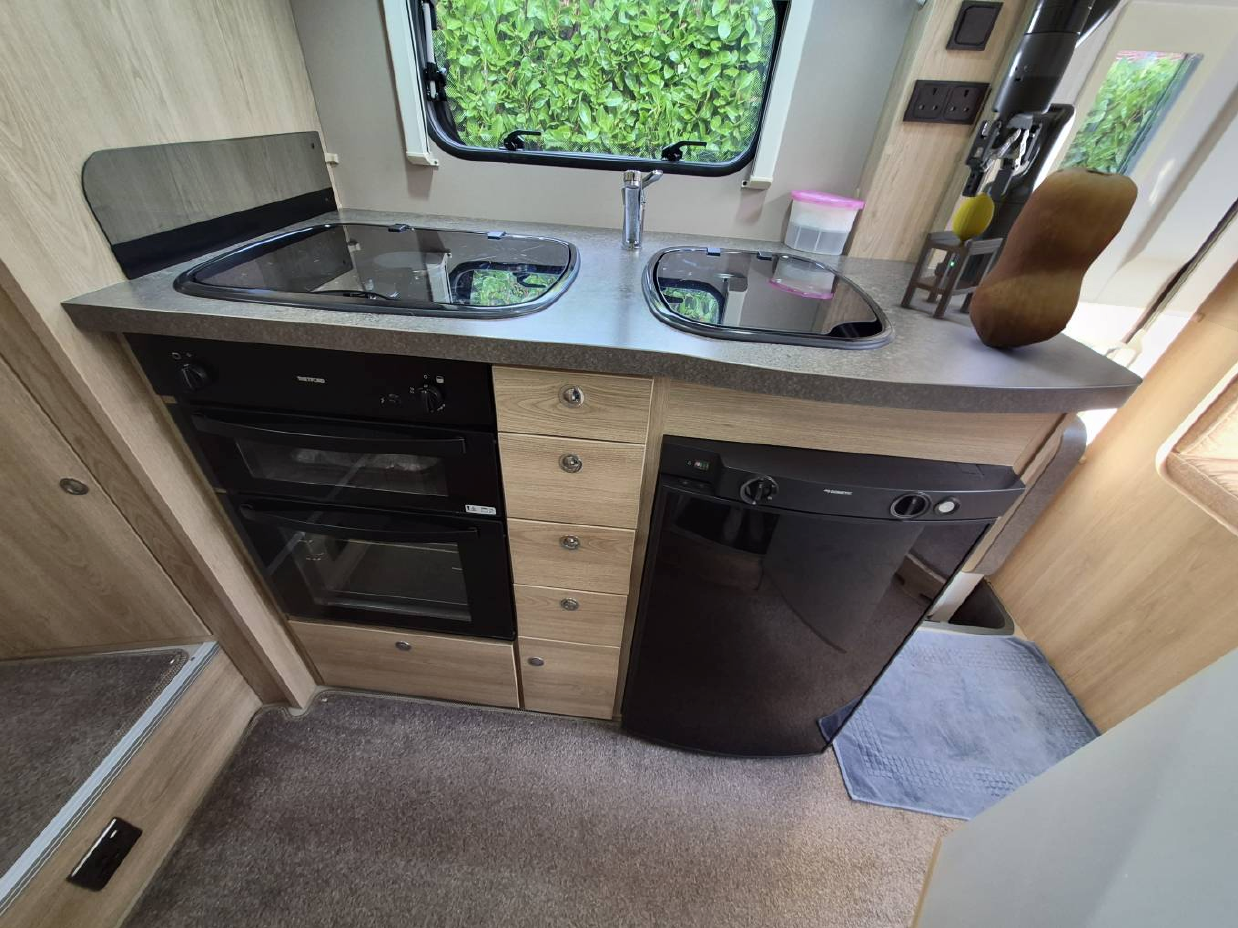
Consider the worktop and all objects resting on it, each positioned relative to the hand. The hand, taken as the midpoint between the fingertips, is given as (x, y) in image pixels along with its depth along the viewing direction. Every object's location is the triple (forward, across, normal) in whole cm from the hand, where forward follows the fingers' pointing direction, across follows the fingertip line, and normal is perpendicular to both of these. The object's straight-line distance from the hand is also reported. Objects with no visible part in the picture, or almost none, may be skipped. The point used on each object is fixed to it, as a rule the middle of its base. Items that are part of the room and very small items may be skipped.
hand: (982, 196), depth 84 cm
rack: (+20, 0, 0) cm, 20 cm away
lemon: (+8, 0, 0) cm, 8 cm away
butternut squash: (+20, +8, +16) cm, 26 cm away
